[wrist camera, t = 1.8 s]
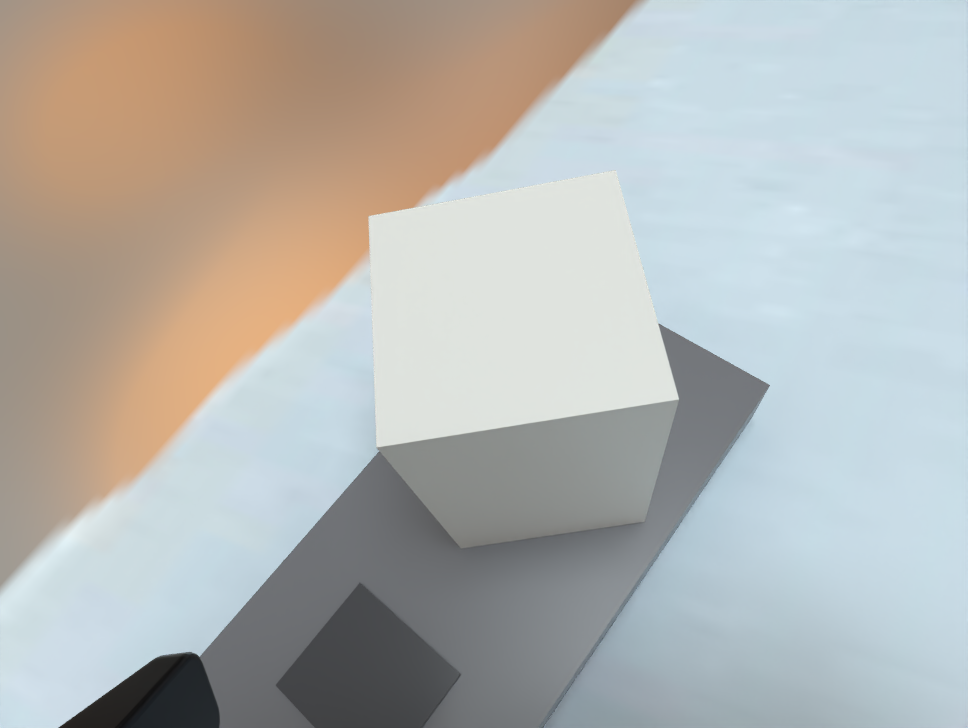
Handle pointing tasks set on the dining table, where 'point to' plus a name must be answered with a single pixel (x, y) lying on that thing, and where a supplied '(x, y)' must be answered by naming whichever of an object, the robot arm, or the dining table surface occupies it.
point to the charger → (519, 361)
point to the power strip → (458, 594)
